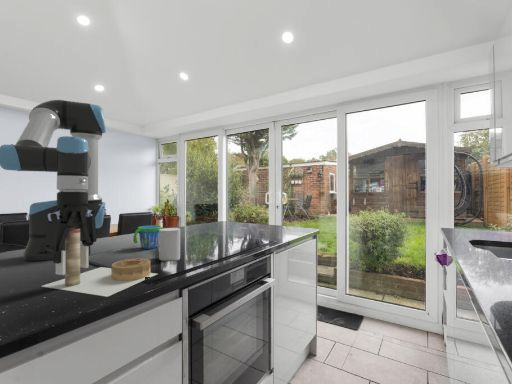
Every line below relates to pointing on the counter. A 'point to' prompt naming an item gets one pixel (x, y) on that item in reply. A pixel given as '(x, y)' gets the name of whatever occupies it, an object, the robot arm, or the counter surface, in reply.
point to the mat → (96, 283)
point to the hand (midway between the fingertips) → (72, 270)
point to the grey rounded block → (169, 244)
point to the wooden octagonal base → (130, 269)
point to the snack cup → (148, 236)
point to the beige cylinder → (72, 257)
